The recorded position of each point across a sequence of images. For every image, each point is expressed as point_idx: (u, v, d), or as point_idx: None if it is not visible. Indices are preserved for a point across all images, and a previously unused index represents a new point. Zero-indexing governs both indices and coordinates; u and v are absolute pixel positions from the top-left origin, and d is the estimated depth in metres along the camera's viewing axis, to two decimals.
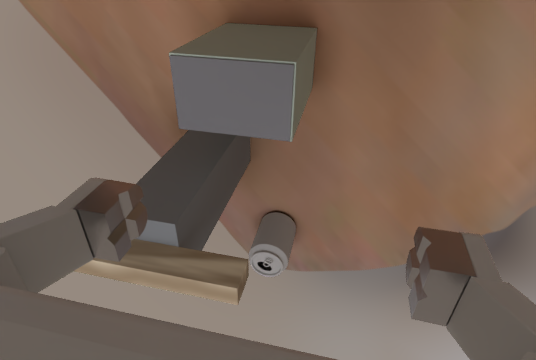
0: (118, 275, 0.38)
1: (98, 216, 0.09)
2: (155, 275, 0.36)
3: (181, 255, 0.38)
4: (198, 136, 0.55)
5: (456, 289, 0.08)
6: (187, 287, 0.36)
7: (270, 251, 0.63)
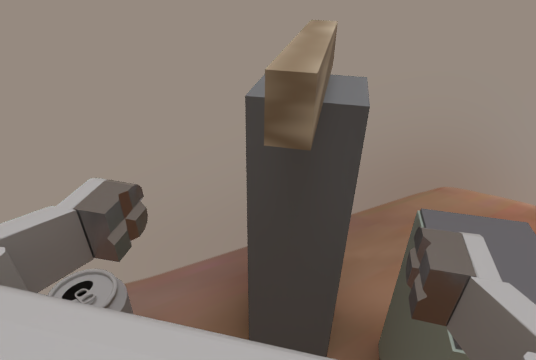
0: (312, 30, 0.28)
1: (98, 216, 0.09)
2: (321, 40, 0.24)
3: (323, 90, 0.24)
4: None
5: (456, 289, 0.08)
6: (302, 49, 0.21)
7: (108, 308, 0.32)
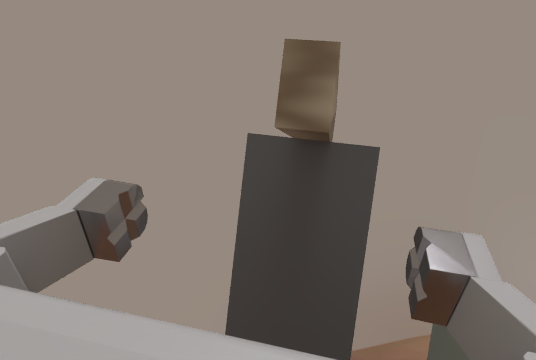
0: None
1: (98, 216, 0.09)
2: None
3: (332, 124, 0.23)
4: None
5: (456, 289, 0.08)
6: None
7: None
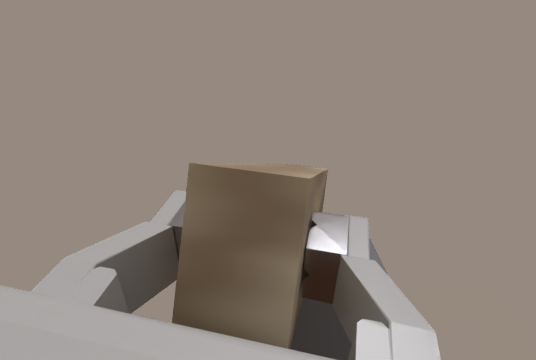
0: None
1: None
2: (311, 169, 0.16)
3: None
4: None
5: (332, 267, 0.08)
6: (280, 167, 0.12)
7: None
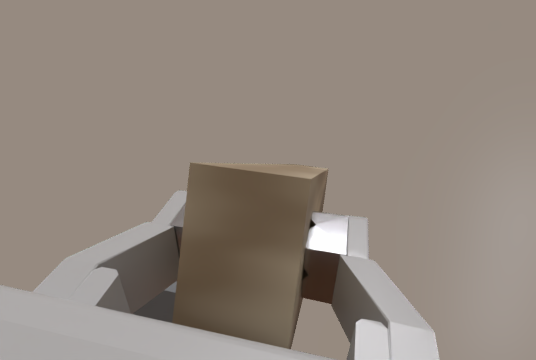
0: None
1: None
2: (311, 169, 0.16)
3: None
4: None
5: (331, 267, 0.08)
6: (281, 167, 0.12)
7: None
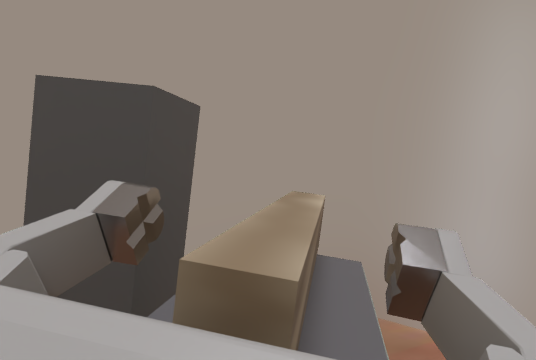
0: (293, 201, 0.20)
1: (118, 220, 0.09)
2: (306, 214, 0.16)
3: None
4: None
5: (429, 284, 0.08)
6: (274, 224, 0.12)
7: None
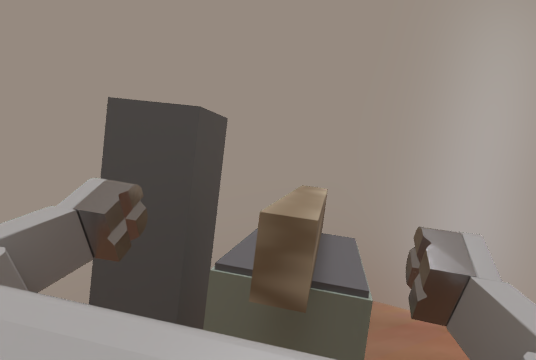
0: (305, 191, 0.28)
1: (98, 216, 0.09)
2: (316, 198, 0.23)
3: (317, 248, 0.22)
4: (199, 304, 0.38)
5: (456, 289, 0.08)
6: (298, 202, 0.20)
7: None
